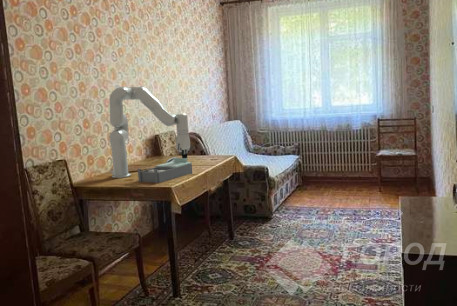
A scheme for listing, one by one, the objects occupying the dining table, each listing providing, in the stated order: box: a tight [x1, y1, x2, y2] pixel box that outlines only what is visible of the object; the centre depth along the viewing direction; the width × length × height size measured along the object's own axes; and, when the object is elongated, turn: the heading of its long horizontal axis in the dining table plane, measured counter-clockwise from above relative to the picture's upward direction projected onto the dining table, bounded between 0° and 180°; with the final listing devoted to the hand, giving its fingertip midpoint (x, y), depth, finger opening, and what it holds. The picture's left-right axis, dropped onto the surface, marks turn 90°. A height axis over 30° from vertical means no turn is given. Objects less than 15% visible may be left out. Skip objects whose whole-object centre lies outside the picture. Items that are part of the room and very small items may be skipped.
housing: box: [137, 163, 193, 184], centre depth 273 cm, size 16×34×9 cm, turn 149°
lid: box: [155, 157, 192, 168], centre depth 280 cm, size 16×16×3 cm
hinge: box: [165, 156, 178, 163], centre depth 305 cm, size 17×5×10 cm, turn 152°
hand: (184, 159), depth 290 cm, fingers closed
